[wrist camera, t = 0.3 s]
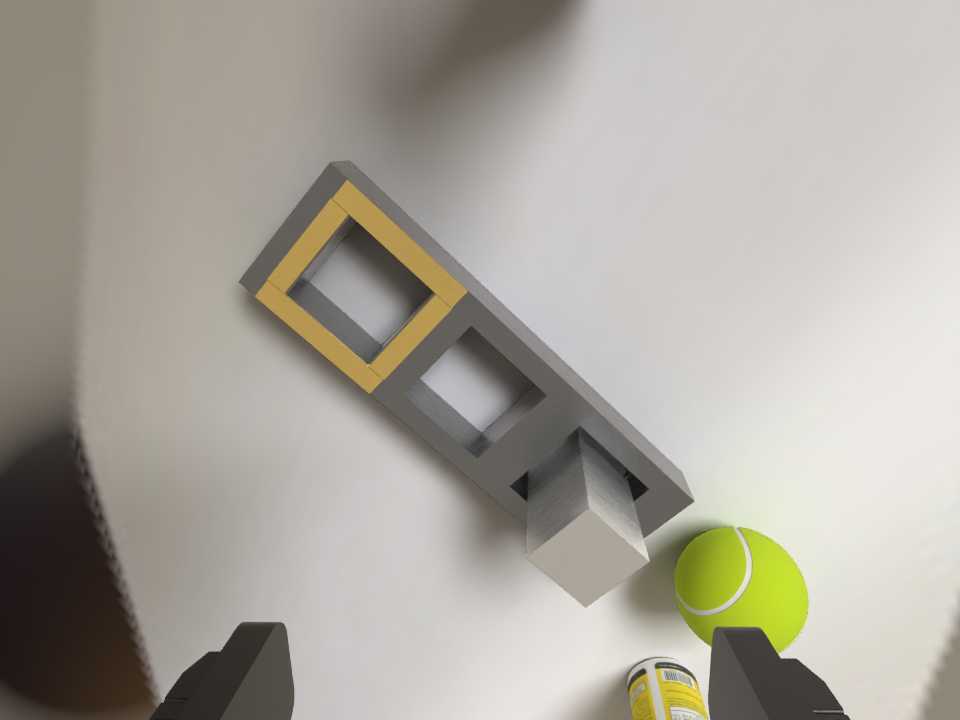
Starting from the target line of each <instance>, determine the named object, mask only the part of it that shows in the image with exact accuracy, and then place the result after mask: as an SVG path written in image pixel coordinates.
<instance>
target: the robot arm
mask: <svg viewBox="0 0 960 720" xmlns="http://www.w3.org/2000/svg"><path fill="white" fill-rule="evenodd" d="M708 704H709V714H710V719H711V720H850V719H849V717H848V716H847V715H845V714H844V712H843V708H842V707H841V705H840V704H839V702H838V701H837V700H836V698H835V697H834V695H833V694H832V692H831V691H830V689H829V688H828V686H827V685H826V683H825V682H824V681H823V680H822V679H820V678H819V677H818V676H817V675H816V674H814V673H813V672H812V671H811V670H809V669H808V668H807V667H806V666H805V665H803V664H802V663H801V662H800V661H799V660H797V659H781V658H780V657H779V655H778V654H777V652H776V650H775V649H774V647H773V645H772V644H771V642H770V641H769V639H768V637H767V636H766V634H765V633H764V631H763V630H762V629H761V628H759V627H715V629H714V631H713V636H712V650H711V664H710V678H709V692H708ZM293 705H294V684H293V676H292V668H291V661H290V653H289V645H288V637H287V631H286V627H285V625H284V624H283V623H281V622H243V623H241V624H240V625H239V626H238V627H237V628H236V630H235V631H234V633H233V634H232V636H231V637H230V638H229V640H228V641H227V643H226V644H225V646H224V647H223V649H222V650H221V652H208V653H207V654H206V655H204V656H203V657H202V658H201V659H199V660H198V661H197V662H196V663H195V664H193V665H192V666H191V667H190V668H188V669H187V670H186V671H185V672H183V674H182V675H181V676H180V678H179V679H178V680H177V682H176V683H175V684H174V686H173V687H172V689H171V690H170V691H169V693H168V694H167V695H166V697H165V701H164V703H161V704H160V705H159V706H158V708H157V709H156V711H155V712H154V713H153V715H152V716H151V717H150V720H291V716H292V712H293Z"/></svg>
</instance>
